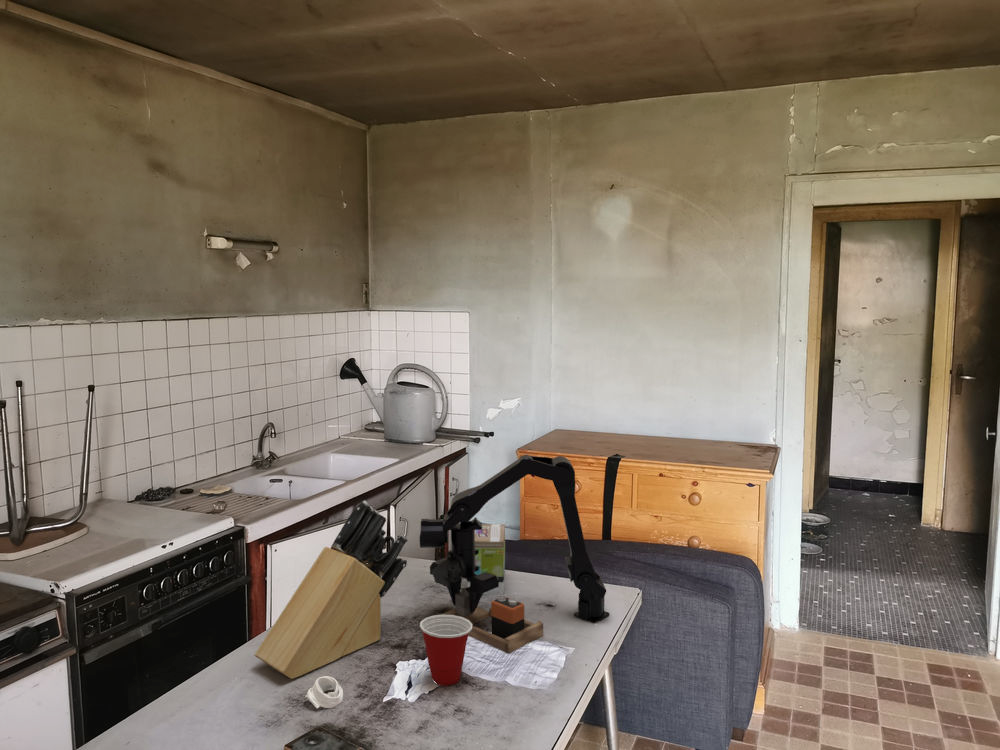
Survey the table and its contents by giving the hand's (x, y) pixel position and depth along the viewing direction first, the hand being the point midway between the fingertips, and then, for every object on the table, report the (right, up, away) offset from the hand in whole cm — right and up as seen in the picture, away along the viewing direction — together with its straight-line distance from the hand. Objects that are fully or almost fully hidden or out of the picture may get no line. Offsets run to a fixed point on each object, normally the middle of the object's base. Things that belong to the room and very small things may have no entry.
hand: (464, 608), depth 184 cm
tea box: (+5, 0, +22) cm, 22 cm away
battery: (+11, -4, -11) cm, 16 cm away
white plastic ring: (-25, -7, -35) cm, 44 cm away
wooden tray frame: (+6, -3, -5) cm, 8 cm away
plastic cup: (-2, -6, -28) cm, 29 cm away
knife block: (-28, -5, -14) cm, 31 cm away
